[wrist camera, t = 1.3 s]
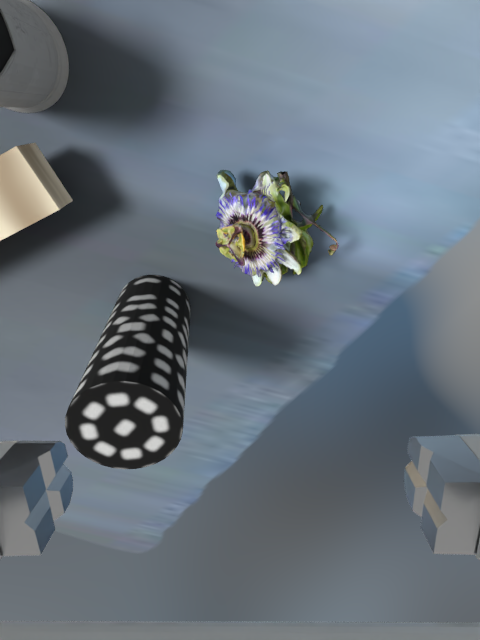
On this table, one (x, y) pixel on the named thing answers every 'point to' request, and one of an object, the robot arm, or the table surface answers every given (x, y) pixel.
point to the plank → (27, 189)
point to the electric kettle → (30, 58)
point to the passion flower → (264, 227)
